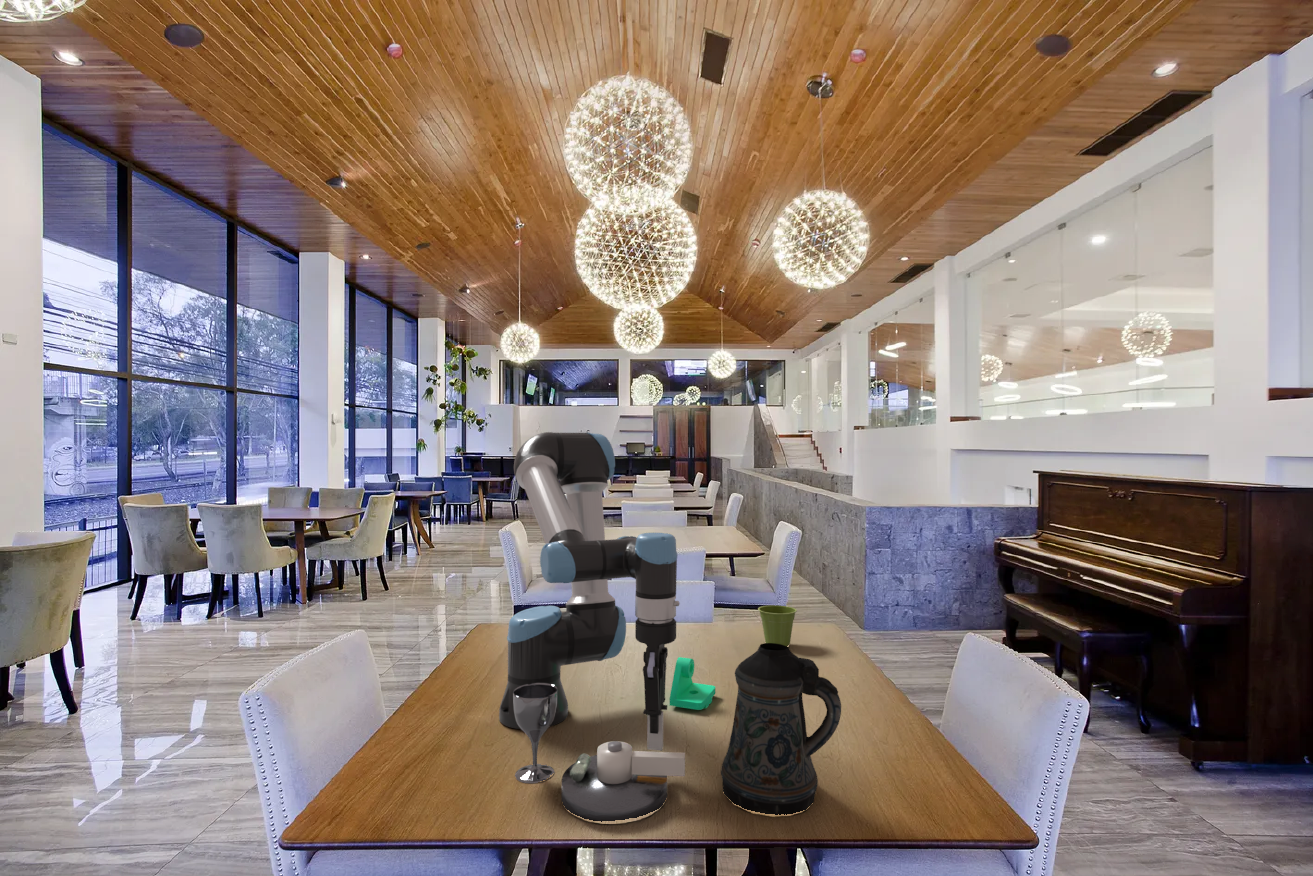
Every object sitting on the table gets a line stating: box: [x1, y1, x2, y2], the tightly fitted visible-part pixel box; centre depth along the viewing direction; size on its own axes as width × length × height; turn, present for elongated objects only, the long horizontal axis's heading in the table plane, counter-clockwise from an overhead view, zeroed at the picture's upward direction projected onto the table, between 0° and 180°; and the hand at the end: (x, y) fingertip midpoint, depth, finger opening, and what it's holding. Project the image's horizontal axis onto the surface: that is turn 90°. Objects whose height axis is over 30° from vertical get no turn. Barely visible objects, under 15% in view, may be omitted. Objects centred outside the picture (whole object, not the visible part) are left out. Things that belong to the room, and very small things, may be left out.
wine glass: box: [513, 683, 557, 785], centre depth 116 cm, size 8×8×15 cm
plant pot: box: [757, 604, 798, 646], centre depth 196 cm, size 12×12×11 cm
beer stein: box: [720, 642, 842, 815], centre depth 110 cm, size 16×19×25 cm
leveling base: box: [561, 753, 668, 822], centre depth 109 cm, size 18×18×5 cm
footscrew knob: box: [596, 740, 686, 784], centre depth 109 cm, size 15×6×5 cm, turn 86°
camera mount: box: [669, 656, 716, 711], centre depth 150 cm, size 12×8×10 cm, turn 158°
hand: (655, 748), depth 116 cm, fingers closed
